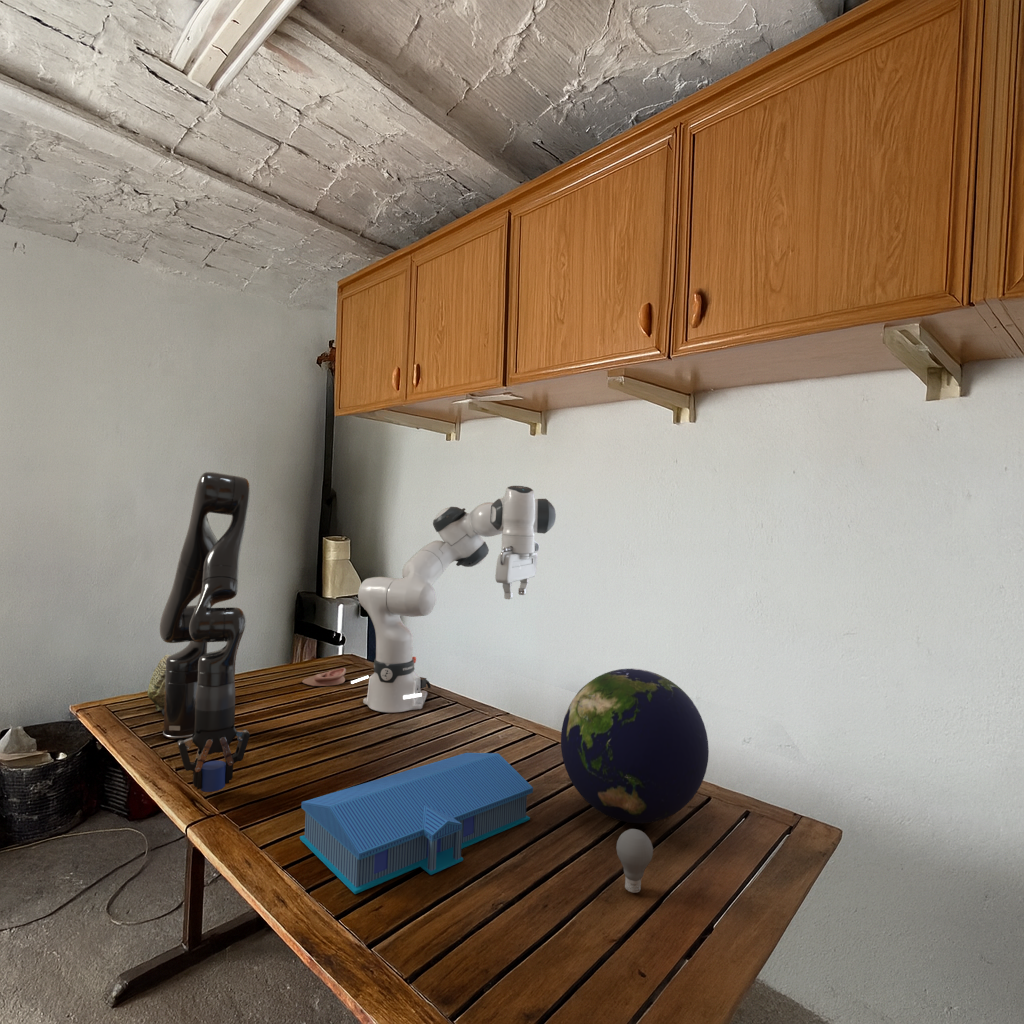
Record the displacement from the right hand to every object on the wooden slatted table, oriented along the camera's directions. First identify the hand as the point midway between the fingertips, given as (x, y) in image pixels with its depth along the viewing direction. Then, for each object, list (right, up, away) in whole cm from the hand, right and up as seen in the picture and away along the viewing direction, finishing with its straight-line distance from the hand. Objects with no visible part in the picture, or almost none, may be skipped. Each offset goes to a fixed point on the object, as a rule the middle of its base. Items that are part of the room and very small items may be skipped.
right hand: (515, 596), depth 171 cm
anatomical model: (-65, -35, +43) cm, 85 cm away
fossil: (-97, -34, +13) cm, 104 cm away
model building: (-18, -39, -50) cm, 66 cm away
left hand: (-63, -34, -40) cm, 82 cm away
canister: (-63, -34, -40) cm, 82 cm away
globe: (+24, -40, -40) cm, 61 cm away
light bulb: (+19, -40, -66) cm, 80 cm away
